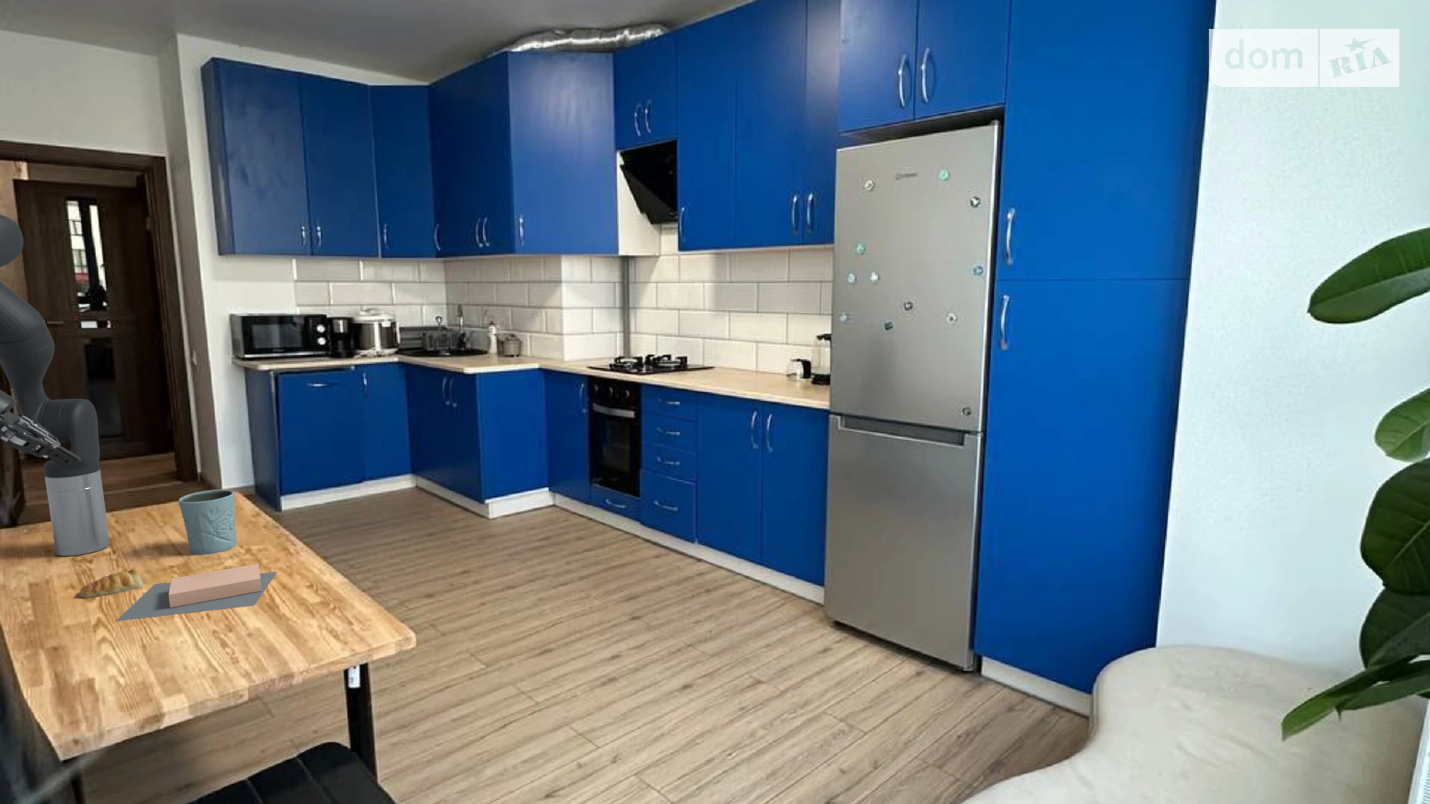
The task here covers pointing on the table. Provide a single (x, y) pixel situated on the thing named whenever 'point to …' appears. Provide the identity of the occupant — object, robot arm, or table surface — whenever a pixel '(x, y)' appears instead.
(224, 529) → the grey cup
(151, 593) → the mat
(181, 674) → the table surface
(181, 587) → the tile
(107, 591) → the pastry
